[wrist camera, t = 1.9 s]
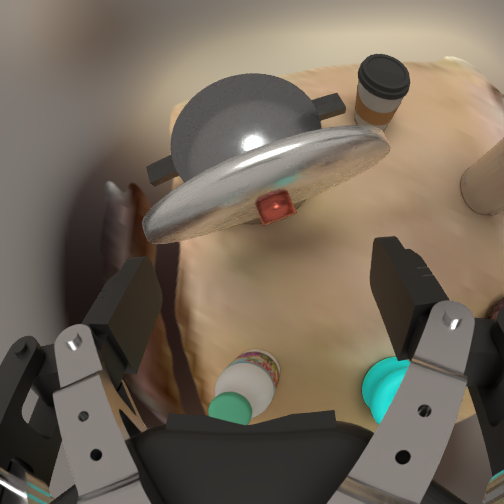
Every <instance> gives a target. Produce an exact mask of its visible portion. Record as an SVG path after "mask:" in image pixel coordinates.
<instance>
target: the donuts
mask: <svg viewBox="0 0 504 504" xmlns="http://www.w3.org/2000/svg"><path fill="white" fill-rule="evenodd" d="M409 364H410V362H409V361H408V360H402V361H398V360H397V357H390V358H386V359H383V360H381V361H379V362H378V363H376V364H375V365H374V366H373V367H372V368H371V369H370V370H369V371H368V373H367V374H366V376H365V378H364V381H363V385H362V395H363V399H364V401H365V403H366V405H367V406H368V407H369V408H370V409H371V413H372V416H373V418H374V419H375V421H376V422H377V423H378V424H380V423H381V421H382V419H383V417H384V415H385V414H386V412H387V410H388V408H389V406H390V404H391V402H392V400H393V398H394V396H395V394H396V392H397V390H398V388H399V386H400V384H401V382H402V380H403V378H404V375H405V373H406V371H407V369H408V367H409Z"/></svg>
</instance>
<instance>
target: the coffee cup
mask: <svg viewBox="0 0 504 504" xmlns="http://www.w3.org/2000/svg"><path fill="white" fill-rule="evenodd" d="M358 79H359V80H358V85H357V96H356V106H355V119H356V122H357V123H358V125H366V126H373V127H377V128H379V129H381V130H382V131H383V130H384V129H385V128H386V126H387V125H388V123H389V122H390V121H391V119H392V117H393V116H394V114H395V112H396V110H397V109H398V107H399V105H400V104H401V101H402V99H403V97H404V96H405V95H406V94H407V93H408V90H409V86H410V78H409V72H408V70H407V68H406V67H405V66H404V65H403V64H402V63H401V62H400V61H399V60H397V59H395V58H394V57H391V56H388V55H384V54H374V55H370V56H369V57H367V58H366V59H365V60H364V61H363V62H362V63H361V65H360V68H359V71H358Z"/></svg>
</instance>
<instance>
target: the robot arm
mask: <svg viewBox="0 0 504 504" xmlns="http://www.w3.org/2000/svg"><path fill="white" fill-rule="evenodd" d="M461 192H462V195H463V198H464V200H465V201H466V203H467V204H468V206H469V207H470V208H471V209H472V210H473V211H475V212H477V213H479V214H491V215H492V216H493V215H495V214H497V213H499V212H502V211H504V138H503V139H502V140H501V141H500V142H498V143H497V144H496V145H495V146H494V147H493V148H492V149H491V150H489V151H488V152H487V153H486V154H485V155H484V156H483V157H482V158H480V159H479V160H478V161H477V162H476V163H475V164H473V165H472V166H471V167H470V168H468V170H466V171H465V172H464V174H463V175H462V178H461ZM370 286H371V290H372V293H373V296H374V298H375V301H376V303H377V306H378V308H379V311H380V314H381V316H382V319H383V321H384V324H385V327H386V329H387V332H388V335H389V338H390V340H391V343H392V346H393V349H394V352H395V354H396V357H397V360H398V361H402V360H407V359H409V360H410V364H409V367H408V369H407V371H406V373H405V375H404V378H403V380H402V382H401V384H400V386H399V388H398V390H397V392H396V394H395V396H394V398H393V400H392V402H391V404H390V406H389V408H388V410H387V412H386V414H385V415H384V417H383V419H382V421H381V423H380V424H379V426H378V428H377V430H376V431H375V433H373V432H372V431H370V430H368V429H366V428H363V427H361V426H358V425H355V424H352V423H347V422H342V421H336V418H335V411H334V410H330V411H322V412H312V413H300V414H291V415H288V416H284V417H280V418H277V419H273V420H269V421H265V422H262V423H258V424H253V425H243V424H238V423H234V422H230V421H226V420H222V419H218V418H214V417H210V416H205V415H204V416H203V415H185V414H171V413H169V415H168V419H167V423H166V424H165V425H160V426H156V427H153V428H151V429H147V428H146V426H145V425H144V423H143V421H142V419H141V418H140V415H139V413H138V411H137V409H136V407H135V405H134V403H133V400H132V398H131V396H130V394H129V392H128V389H127V387H126V385H125V383H124V381H123V380H122V378H123V375H124V373H131V374H137V372H138V369H139V366H140V363H141V360H142V357H143V355H144V352H145V349H146V346H147V344H148V341H149V338H150V335H151V333H152V330H153V327H154V325H155V322H156V319H157V317H158V314H159V311H160V309H161V306H162V292H161V288H160V285H159V283H158V280H157V277H156V274H155V271H154V268H153V266H152V263H151V260H150V259H149V258H148V257H136V258H128V259H127V260H126V262H125V263H124V265H123V267H122V268H121V270H120V271H119V272H117V273H116V274H115V275H114V276H112V277H111V278H110V279H109V280H108V281H107V283H106V284H105V286H104V287H103V289H102V292H100V294H99V295H98V297H97V299H96V300H95V302H94V304H93V305H92V307H91V309H90V310H89V312H88V314H87V315H86V317H85V319H84V320H83V322H82V324H78V325H74V326H71V327H69V328H67V329H65V330H64V331H63V332H62V333H61V334H60V335H59V336H58V338H57V339H56V342H55V344H51V345H46V346H42V347H41V346H40V345H39V343H38V342H37V340H36V339H35V338H34V337H32V336H25V337H22V338H20V339H19V340H17V341H16V342H15V343H14V344H13V345H12V346H11V348H10V349H9V351H8V353H7V354H6V356H5V358H4V360H3V362H2V364H1V365H0V504H467V503H465V502H464V501H462V500H461V499H460V498H458V497H457V496H455V495H454V494H453V493H451V492H450V491H449V490H447V489H446V488H445V487H443V486H442V485H441V484H439V483H437V482H436V481H435V480H434V479H433V476H434V473H435V471H436V469H437V467H438V465H439V462H440V460H441V458H442V455H443V453H444V450H445V448H446V445H447V443H448V440H449V437H450V435H451V432H452V429H453V426H454V424H455V421H456V418H457V415H458V412H459V408H460V405H461V402H462V399H463V395H464V392H465V388H466V386H468V389H469V392H470V395H471V398H472V401H473V404H474V407H475V410H476V414H477V417H478V420H479V424H480V427H481V430H482V434H483V438H484V441H485V445H486V449H487V453H488V457H489V462H490V466H491V471H492V476H493V478H492V479H491V480H490V482H489V484H488V486H487V490H486V494H485V496H484V498H483V504H504V307H503V308H501V309H500V310H499V312H498V314H497V316H496V318H495V320H494V319H482V318H474V316H473V314H472V312H471V311H470V310H469V309H468V308H467V307H466V306H464V305H463V304H461V303H459V302H455V301H450V300H449V298H448V297H447V295H446V294H445V292H444V290H443V289H442V287H441V286H440V284H439V283H438V281H437V280H436V278H435V277H434V275H432V272H431V271H430V269H429V268H427V265H426V263H425V262H424V260H423V259H422V258H421V256H419V255H418V254H417V253H415V252H414V251H412V250H411V249H404V247H403V246H402V244H401V243H400V241H399V240H398V238H397V237H396V236H391V237H378V238H375V239H374V242H373V251H372V261H371V270H370ZM30 388H31V389H32V390H33V391H34V392H35V393H36V394H37V395H38V396H39V398H38V401H37V403H36V406H35V408H34V411H33V413H32V416H31V418H30V421H29V423H28V424H27V423H26V422H25V421H24V419H23V417H22V406H23V403H24V401H25V399H26V397H27V394H28V392H29V390H30ZM62 441H63V445H64V448H65V452H66V456H67V459H68V463H69V466H70V469H71V473H72V475H73V479H74V482H75V484H74V485H73V486H72V487H71V488H69V489H68V490H67V491H65V492H64V493H63V494H61V495H60V496H59V497H57V498H56V499H54V498H53V497H52V496H50V492H49V485H50V481H51V477H52V473H53V470H54V466H55V462H56V459H57V455H58V452H59V449H60V445H61V442H62Z"/></svg>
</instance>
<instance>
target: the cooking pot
mask: <svg viewBox="0 0 504 504" xmlns="http://www.w3.org/2000/svg"><path fill="white" fill-rule="evenodd" d="M345 111H346V106H345V105H344V103H343V101H342V100H341V98H340V97H339V95H338V93H334V94H331V95H327V96H324V97H321V98H317V99H314V100H310V98H309V97H308V96H307V95H306V94H305V93H304V92H303V91H302V90H301V89H299V88H298V87H297V86H295V85H294V84H292V83H290V82H288V81H286V80H284V79H282V78H279V77H275V76H271V75H266V74H241V75H236V76H231V77H228V78H224V79H222V80H219V81H217V82H215V83H213V84H211V85H209V86H207V87H206V88H204V89H203V90H202V91H200V92H199V93H197V94H196V95H195V96H194V97H193V98H192V99H191V100H190V101H189V102H188V103H187V104H186V106H185V107H184V108H183V110H182V111H181V113H180V115H179V116H178V118H177V120H176V123H175V125H174V128H173V132H172V136H171V155H170V156H167V157H165V158H163V159H161V160H159V161H157V162H155V163H153V164H151V165H149V166H147V172H148V175H149V180H150V183H151V184H152V185H153V186H157V185H159V184H161V183H164V182H166V181H168V180H170V179H172V178H174V177H177V176H180V177H181V178H182V180H183V181H184V182H186V181H188V180H190V179H192V178H193V177H195V176H197V175H199V174H200V173H202V172H204V171H206V170H208V169H210V168H212V167H214V166H216V165H218V164H220V163H222V162H224V161H226V160H228V159H230V158H233V157H235V156H237V155H240V154H242V153H244V152H247V151H249V150H252V149H254V148H257V147H260V146H263V145H265V144H268V143H271V142H274V141H277V140H280V139H283V138H287V137H290V136H294V135H298V134H301V133H305V132H310V131H314V130H319V129H321V122H320V121H321V120H324V119H327V118H331V117H334V116H337V115H340V114H344V113H345ZM305 200H306V199H305ZM305 200H302V201H300V202H298V203H295V204H293V205H294V208H295V210H296V209H297V208H298V207H300V206H301V205H302V203H303V202H304V201H305ZM244 223H245V224H262V221H261V219H260V217H259V218H256V219H253V220H250V221H247V222H244Z"/></svg>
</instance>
